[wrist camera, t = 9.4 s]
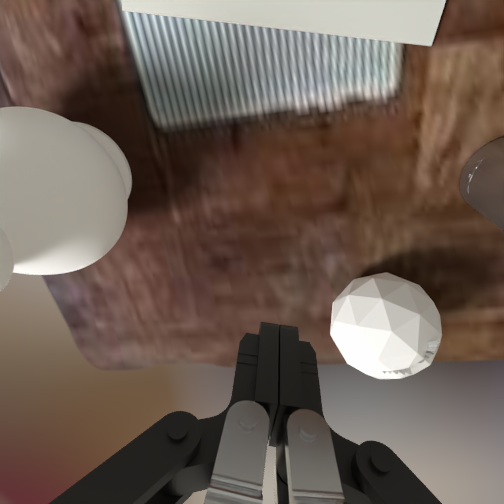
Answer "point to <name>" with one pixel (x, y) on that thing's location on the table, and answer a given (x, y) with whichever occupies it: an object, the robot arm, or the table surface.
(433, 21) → the mat
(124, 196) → the decorative vase
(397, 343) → the geodesic sphere
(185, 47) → the table surface
